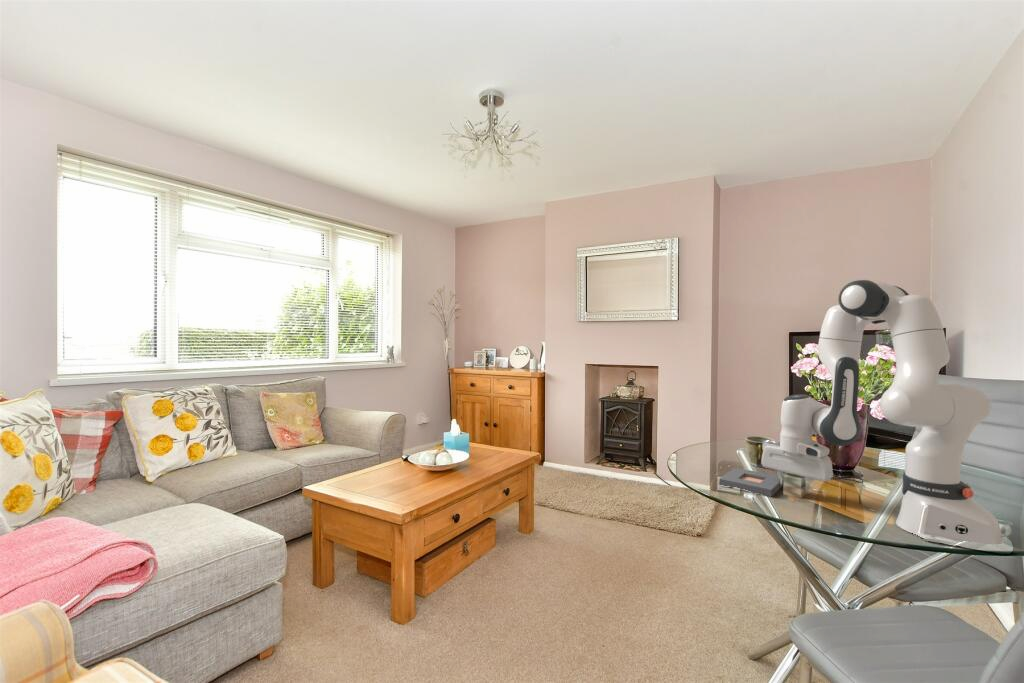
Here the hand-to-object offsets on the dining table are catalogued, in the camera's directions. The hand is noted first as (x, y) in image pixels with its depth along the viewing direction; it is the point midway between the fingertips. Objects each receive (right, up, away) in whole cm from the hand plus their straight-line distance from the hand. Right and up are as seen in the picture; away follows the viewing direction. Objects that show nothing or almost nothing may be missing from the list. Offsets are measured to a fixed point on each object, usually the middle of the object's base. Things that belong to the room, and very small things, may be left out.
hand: (794, 487), depth 154 cm
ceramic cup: (+4, -1, +29) cm, 29 cm away
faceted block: (0, -2, 0) cm, 2 cm away
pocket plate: (-10, -2, +9) cm, 13 cm away
